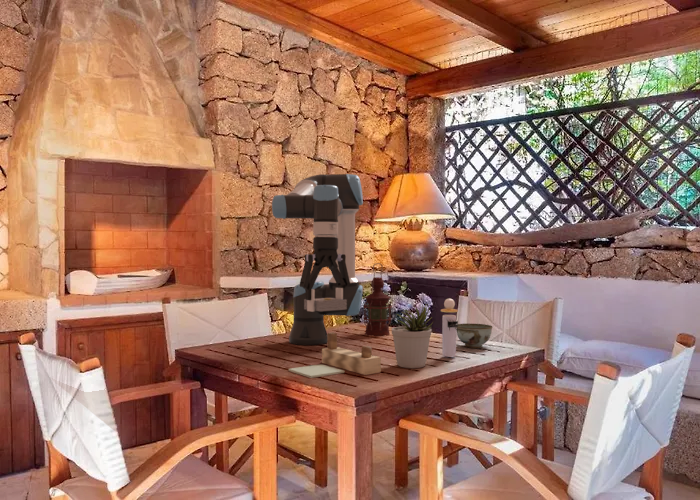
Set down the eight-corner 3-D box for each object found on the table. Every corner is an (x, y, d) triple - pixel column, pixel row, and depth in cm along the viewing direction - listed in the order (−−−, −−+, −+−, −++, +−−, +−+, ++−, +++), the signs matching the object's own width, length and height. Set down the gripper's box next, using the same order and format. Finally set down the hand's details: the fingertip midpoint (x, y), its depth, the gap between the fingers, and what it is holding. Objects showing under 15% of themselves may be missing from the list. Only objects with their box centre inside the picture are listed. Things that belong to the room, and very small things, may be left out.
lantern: (382, 337, 248) (382, 264, 248) (357, 334, 255) (357, 263, 255) (396, 333, 259) (397, 263, 258) (372, 331, 265) (372, 262, 265)
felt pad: (288, 370, 183) (288, 368, 183) (321, 366, 190) (321, 364, 190) (311, 378, 173) (311, 375, 173) (344, 372, 181) (344, 370, 181)
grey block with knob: (304, 309, 183) (304, 297, 183) (330, 307, 190) (330, 296, 190) (319, 311, 177) (320, 299, 177) (346, 309, 183) (346, 298, 183)
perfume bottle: (437, 356, 207) (437, 298, 206) (450, 355, 209) (451, 297, 209) (447, 359, 202) (447, 299, 201) (461, 358, 204) (461, 298, 204)
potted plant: (405, 372, 182) (405, 305, 182) (384, 363, 195) (384, 301, 194) (441, 368, 187) (441, 303, 187) (418, 360, 200) (419, 299, 199)
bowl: (477, 351, 217) (477, 329, 217) (447, 346, 227) (448, 325, 227) (499, 347, 226) (499, 325, 226) (470, 342, 236) (470, 322, 236)
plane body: (321, 362, 195) (321, 333, 195) (336, 360, 199) (336, 331, 199) (365, 374, 178) (365, 342, 178) (380, 372, 182) (380, 340, 181)
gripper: (301, 235, 173) (301, 313, 173) (362, 237, 188) (361, 308, 188) (287, 236, 179) (286, 311, 179) (347, 237, 193) (346, 307, 193)
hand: (325, 310), depth 183 cm, fingers closed on grey block with knob, 10 cm apart
